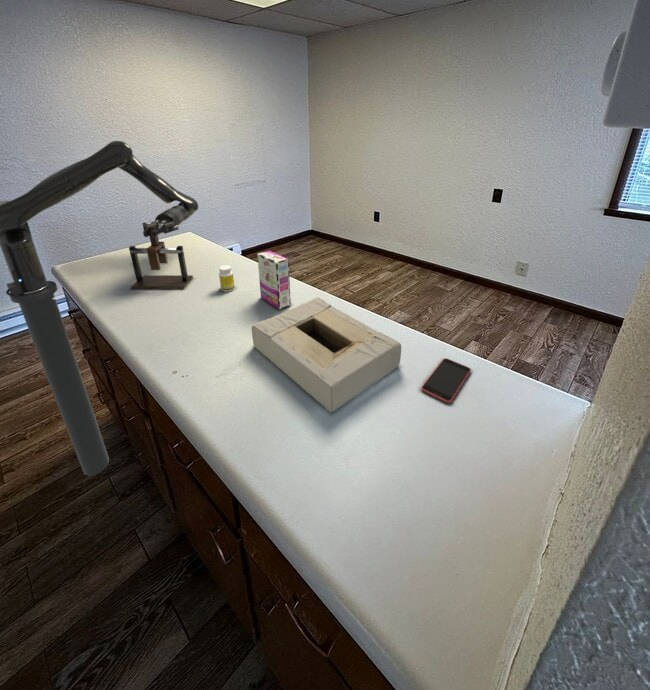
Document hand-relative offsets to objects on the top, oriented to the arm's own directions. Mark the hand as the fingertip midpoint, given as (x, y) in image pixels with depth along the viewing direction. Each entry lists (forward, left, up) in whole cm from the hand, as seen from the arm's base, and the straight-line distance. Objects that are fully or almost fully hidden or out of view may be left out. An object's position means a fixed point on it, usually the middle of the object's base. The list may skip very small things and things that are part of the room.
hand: (148, 234), depth 123 cm
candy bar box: (+20, -40, -20) cm, 49 cm away
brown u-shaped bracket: (+2, +2, -13) cm, 14 cm away
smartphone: (+21, -99, -20) cm, 103 cm away
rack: (+2, +2, -20) cm, 20 cm away
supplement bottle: (+15, -20, -20) cm, 33 cm away
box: (+9, -71, -20) cm, 75 cm away
